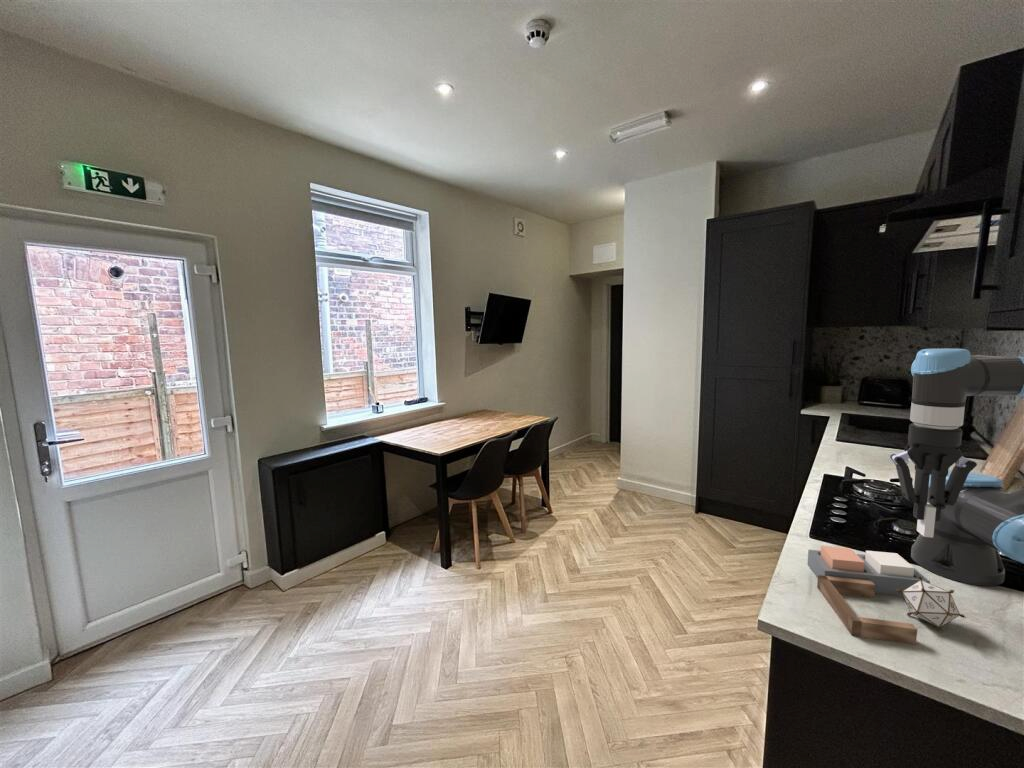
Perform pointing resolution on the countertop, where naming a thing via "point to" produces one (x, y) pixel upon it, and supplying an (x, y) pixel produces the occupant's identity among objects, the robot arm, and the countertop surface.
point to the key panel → (864, 575)
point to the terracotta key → (842, 558)
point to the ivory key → (889, 563)
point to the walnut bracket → (861, 625)
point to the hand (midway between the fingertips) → (924, 533)
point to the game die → (930, 603)
